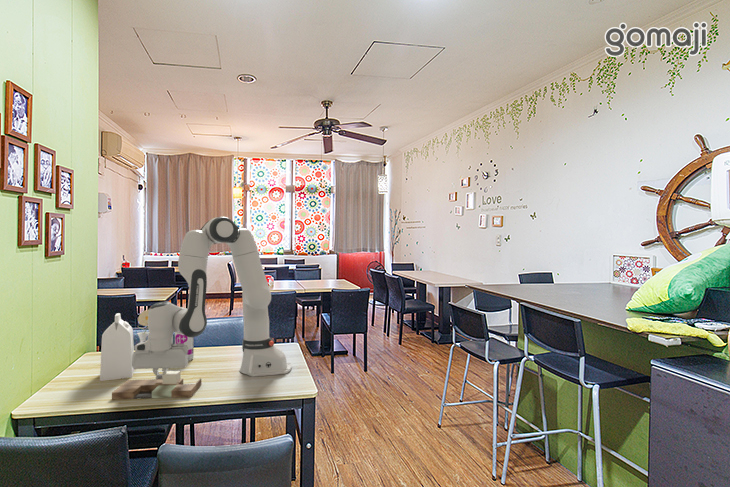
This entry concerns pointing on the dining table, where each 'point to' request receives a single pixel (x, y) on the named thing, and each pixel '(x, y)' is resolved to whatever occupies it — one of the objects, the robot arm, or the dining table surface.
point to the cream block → (171, 377)
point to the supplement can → (185, 343)
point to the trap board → (154, 389)
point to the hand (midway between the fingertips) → (160, 379)
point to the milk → (117, 351)
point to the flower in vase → (143, 321)
